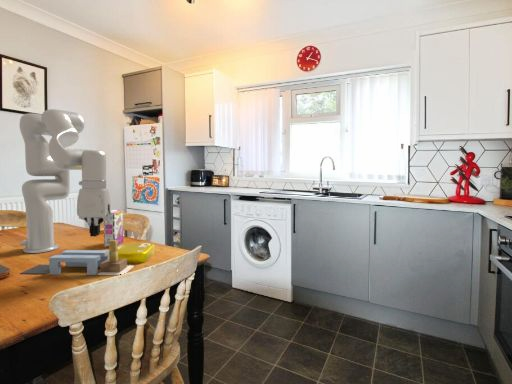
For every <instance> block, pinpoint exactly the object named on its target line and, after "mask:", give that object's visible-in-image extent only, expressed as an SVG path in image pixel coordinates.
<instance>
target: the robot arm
mask: <svg viewBox="0 0 512 384" xmlns="http://www.w3.org/2000/svg"><path fill="white" fill-rule="evenodd" d="M84 128H85V121H84V118H83V117H82V115H81V114H80V113H77V112H75V111H68V110H61V109H46V110H45V111H44V112H42V113H34V112H33V113H32V112H31V113H24V114H23V115H22V116H20V119H19V131H20V133H21V136H22V139H23V142H24V151H25V152H24V154H25V155H24V157H25V171H26V172H27V175H28V176H29V175H30V176H32V177H54V178H53V179H50V178H49V179H48V178H41V179H30V180H29V179H28V180H26V181H25V182H23V184H22V185H21V193H22V196H23V201H24V206H25V218H26V219H25V220H26V222H25V223H26V239H23V240H21V242H19V245H20V246H25V247H24V248H23V252H24V254H25V253H26V254H38V253H39V254H40V253H46V252H51V251H55V250H57V249H58V248H59V244H58V243H55V233H54V232H55V231H54V215H53V214H54V213H53V209H52V207H51V206H50V205H49V203H48V202H46V201H55V200H64V199H66V198H68V197H69V194H70V190H71V187H70V183H71V182H70V180H71V179H70V171H71V170H72V171H73V170H74V171H81V181H80V180H79V182H78V185H79V186H81V188H80V189H79V190H78V194H77V200H76V201H77V203H76V215H77V217H78V218H79V219H80V220H83V221H85V222H86V223H87V225H88V226H89V236H90V237H98V236H100V234H101V224H102V223H104V221H106V220H110V213H111V211H112V208H111V207H112V206H111V198H110V192H109V189H108V188H107V154H106V153H105V152H104V151H102V150H97V149H96V150H93V149H82V148H68V147H70V146H71V147H72V146H73V145H75V144H76V143H77V142H78V141H79V138H80V135H79V134H80V133H82V132H83V130H84ZM45 136H48V137H49V136H50V137H51V138H50V140H49V142H48V140H47V139H46V138H45Z"/></svg>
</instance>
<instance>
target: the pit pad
mask: <svg viewBox="0 0 512 384" xmlns="http://www.w3.org/2000/svg"><path fill="white" fill-rule="evenodd" d="M60 265H61V267H63V266H64V264H60ZM47 274H50V266H49V264H42V263H41V264H38V265H35V266H33V267H29V269H26V270H24V271H21V272H20V273H19V275H47Z"/></svg>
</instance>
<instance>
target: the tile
mask: <svg viewBox="0 0 512 384" xmlns="http://www.w3.org/2000/svg"><path fill="white" fill-rule="evenodd" d="M134 267H135V265H130V264H129V265H128V264H127V267H126V268H125V269H124V270H122V271H121V272H100V271H99V272H98V274H97V275H99V276H121V275H120V274H124V273H125V274H126V273H128V272H129V271H130V270H132V269H133V268H134ZM125 274H124V275H125Z"/></svg>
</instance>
